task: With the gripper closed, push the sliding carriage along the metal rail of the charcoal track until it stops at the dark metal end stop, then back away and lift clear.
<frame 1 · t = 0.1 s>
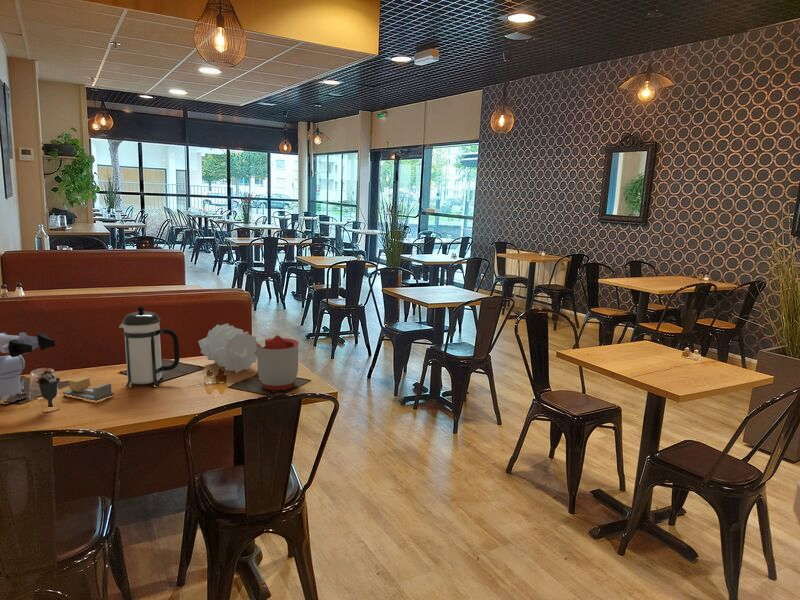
hand: (42, 345, 182), 22 cm above the table, tool horizontal, fingers open, 7 cm apart
citrus juicer: (276, 386, 213), on the table
track: (88, 396, 198), on the table
sundae: (50, 410, 185), on the table
white ruffled oval piece: (230, 367, 235), on the table
sliding carriage: (79, 384, 198), point 4 cm above the table, slide at 0.0 cm
coffee press: (149, 383, 213), on the table
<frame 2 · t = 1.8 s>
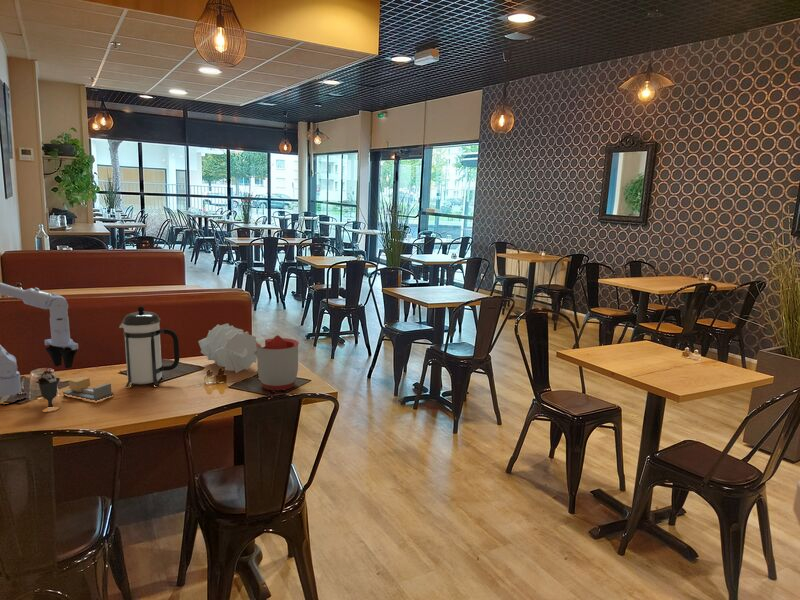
hand: (63, 366, 200), 9 cm above the table, tool pointing down, fingers open, 5 cm apart
nothing on the table moved.
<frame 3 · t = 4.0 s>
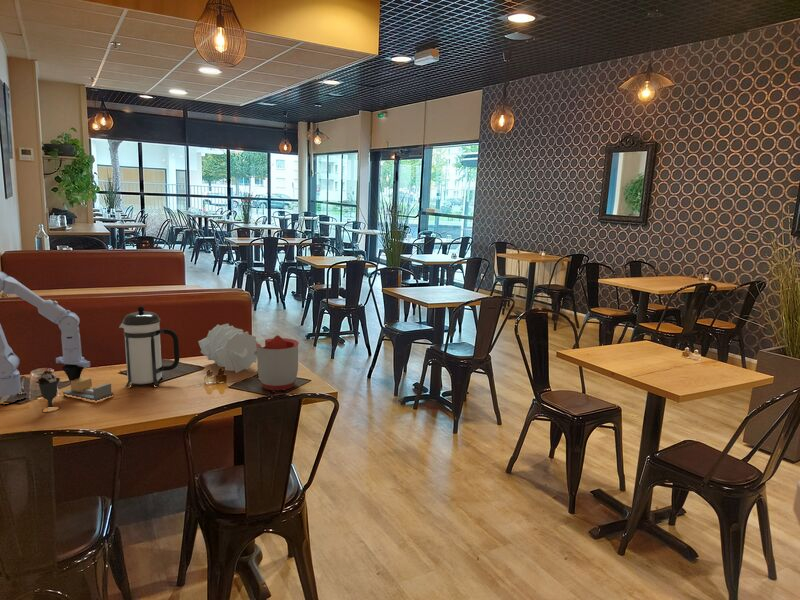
hand: (74, 384, 199), 3 cm above the table, tool pointing down, fingers closed
sliding carriage: (81, 384, 198), point 4 cm above the table, slide at 0.9 cm, touching gripper
everything else where it was.
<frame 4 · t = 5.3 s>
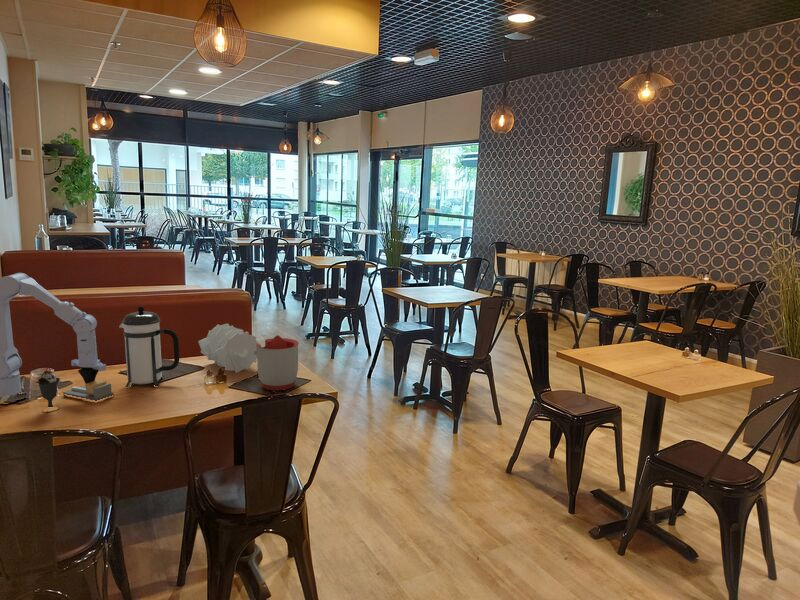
hand: (90, 387, 197), 3 cm above the table, tool pointing down, fingers closed
sliding carriage: (96, 387, 195), point 4 cm above the table, slide at 8.1 cm, touching gripper
everything else where it was.
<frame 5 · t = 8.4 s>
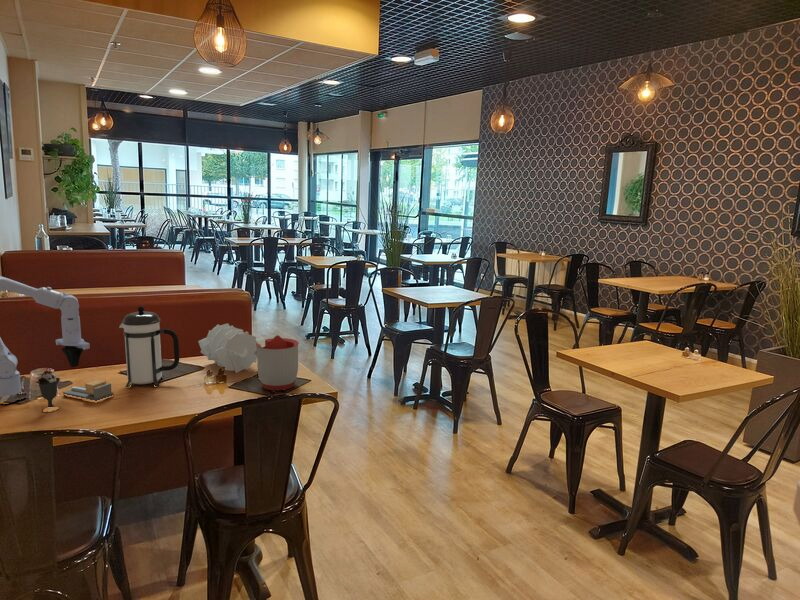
hand: (74, 366, 201), 9 cm above the table, tool pointing down, fingers closed
sliding carriage: (96, 387, 195), point 4 cm above the table, slide at 8.0 cm
everything else where it was.
at the end: sliding carriage slide at 8.0 cm; sundae moved 0.2 cm from its start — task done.
